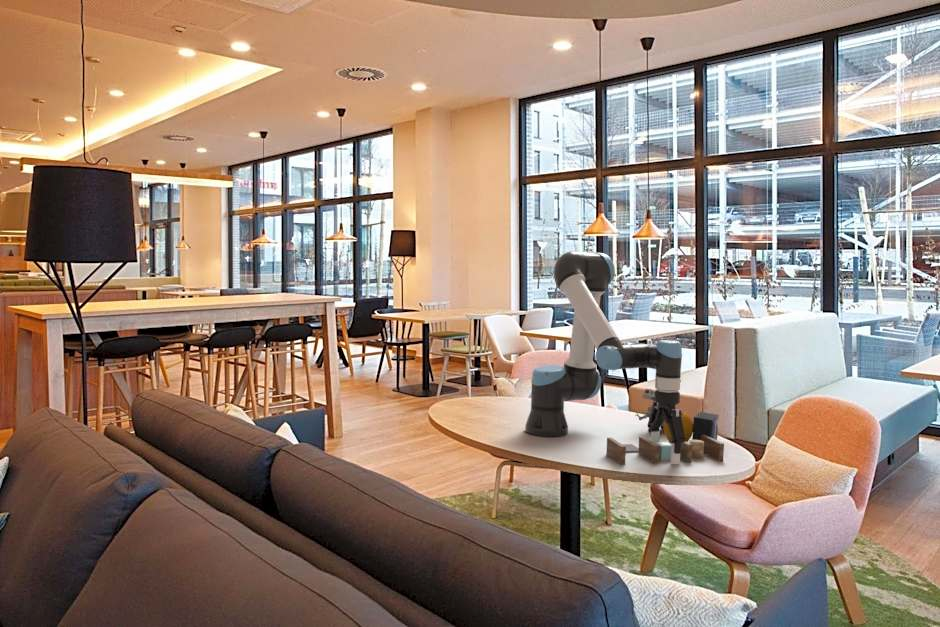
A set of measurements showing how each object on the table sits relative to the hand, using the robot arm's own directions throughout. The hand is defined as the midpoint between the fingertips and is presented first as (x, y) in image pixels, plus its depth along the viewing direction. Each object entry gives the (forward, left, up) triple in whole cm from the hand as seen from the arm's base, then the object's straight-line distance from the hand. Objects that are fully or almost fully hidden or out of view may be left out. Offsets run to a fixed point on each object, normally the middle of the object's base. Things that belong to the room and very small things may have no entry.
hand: (664, 457), depth 215 cm
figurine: (+14, +34, 0) cm, 37 cm away
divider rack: (0, 0, 0) cm, 0 cm away
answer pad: (-8, +11, 0) cm, 14 cm away
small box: (+21, +12, 0) cm, 24 cm away
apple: (+12, +14, 0) cm, 18 cm away
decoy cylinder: (+11, 0, 0) cm, 11 cm away
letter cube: (0, 0, 0) cm, 0 cm away
